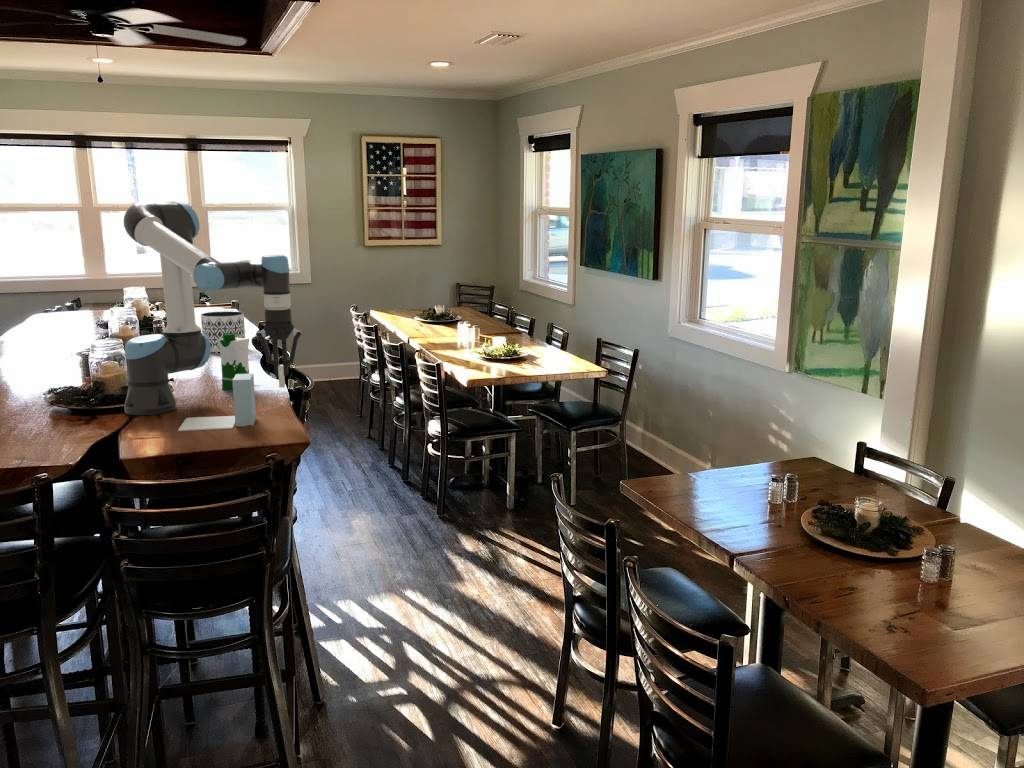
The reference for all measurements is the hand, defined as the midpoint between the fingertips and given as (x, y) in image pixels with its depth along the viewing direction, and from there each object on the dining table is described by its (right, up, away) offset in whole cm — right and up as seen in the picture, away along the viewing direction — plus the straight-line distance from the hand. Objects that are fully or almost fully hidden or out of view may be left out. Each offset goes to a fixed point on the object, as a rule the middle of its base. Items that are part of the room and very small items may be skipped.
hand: (282, 386), depth 242 cm
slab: (-11, -11, 0) cm, 15 cm away
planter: (-61, +16, +123) cm, 139 cm away
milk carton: (-29, -1, +44) cm, 53 cm away
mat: (-21, -11, -2) cm, 24 cm away
